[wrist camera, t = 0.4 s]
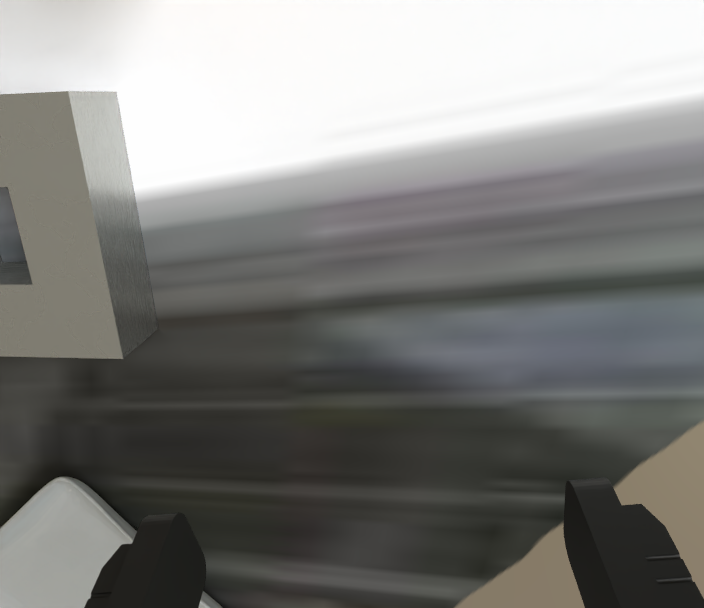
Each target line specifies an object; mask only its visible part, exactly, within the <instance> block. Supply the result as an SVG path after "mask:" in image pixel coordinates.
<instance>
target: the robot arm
mask: <svg viewBox="0 0 704 608" xmlns="http://www.w3.org/2000/svg"><path fill="white" fill-rule="evenodd" d="M564 538H565V545H566V549H567V554H568V558H569V561H570V564H571V567H572V570H573V573H574V576H575V579H576V582H577V585H578V588H579V591H580V594H581V596H582V600H583V603H584V606H585V608H704V599H703V597H702V595H701V593H700V591H699V590H698V588H697V586H696V584H695V582H693V581H692V578H691V574H690V573H689V571H688V569H687V567H686V565H685V563H684V561H683V559H681V558H680V555H679V552H678V550H677V548H676V546H675V544H674V542H673V541H672V539H671V537H670V535H669V533H668V531H667V529H666V527H665V526H664V525H663V524H662V523H661V522H660V521H659V520H658V519H657V518H656V517H655V516H653V515H652V514H651V513H650V512H649V511H648V510H647V509H646V508H645V507H644V506H643V505H642V504H635V505H623V506H621V503H620V501H619V499H618V497H617V495H616V493H615V491H614V489H613V487H612V485H611V483H610V481H609V480H608V479H607V478H594V479H583V480H571V481H567V482H566V490H565V510H564ZM205 579H206V562H205V557H204V554H203V552H202V550H201V548H200V546H199V544H198V541H197V539H196V537H195V535H194V533H193V531H192V529H191V527H190V525H189V523H188V521H187V518H186V517H185V515H184V514H182V513H172V514H161V515H149V516H146V517H145V518H144V519H143V520H142V522H141V524H140V526H139V528H138V530H137V533H136V535H135V538H134V540H133V542H132V544H122V545H121V546H120V547H119V548H118V549H117V551H116V552H115V553H114V554H113V555H112V557H111V558H110V559H109V560H108V561H107V563H106V564H105V565H104V566H103V567H102V569H101V572H100V574H99V576H98V578H97V580H96V583H95V585H94V587H93V589H92V592H91V598H90V599H88V600H87V603H86V605H85V607H84V608H199V604H200V600H201V596H202V593H203V589H204V585H205Z"/></svg>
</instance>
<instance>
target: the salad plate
mask: <svg viewBox="0 0 704 608" xmlns="http://www.w3.org/2000/svg"><path fill="white" fill-rule="evenodd" d="M136 533H137V531H136V530H135V529H134V528H133V527H132V526H131V525H129V524H128V523H127V522H126V521H125V520H124V519H123V518H122V517H121V516H120V515H119V514H118V513H117V512H115V511H114V510H113V509H112V508H111V507H110V506H109V505H108V504H107V503H106V502H105V501H104V500H103V499H102V498H101V497H100V496H99V495H98V494H97V493H96V492H94V491H93V490H92V489H91V488H90V487H89V486H87V485H86V484H84V483H83V482H81V481H80V480H78V479H75V478H72V477H66V476H62V477H57V478H55V479H53V480H52V481H50V482H49V483H47V484H46V485H45V486H44V487H43V488H42V489H40V490H39V491H38V492H37V493H36V494H35V495H34V496H33V497H32V498H31V499H30V500H29V501H28V502H27V503H26V504H24V505H23V507H22V508H21V509H20V510H19V511H17V512H16V513H15V514H14V515H13V516H12V517H11V518H10V519H9V520H8V521H7V522H6V523H5V524H4V525H3V526H2V527H1V528H0V608H84V607H85V605H86V603H87V600H88V599H90V598H91V592H92V589H93V587H94V585H95V583H96V580H97V578H98V576H99V574H100V572H101V569H102V567H103V566H104V565H105V564H106V563H107V561H108V560H109V559H110V558H111V557H112V555H113V554H114V553H115V552H116V551H117V549H118V548H119V547H120V546H121V545H122V544H132V542H133V540H134V538H135V535H136ZM199 608H223V607H222V606H221V605H220V604H218V603H217V602H216V601H215V600H214V599H212V598H211V597H210V596H209V595H208V594H206V593H205V592H204V591H203V593H202V596H201V600H200V604H199Z"/></svg>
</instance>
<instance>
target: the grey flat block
mask: <svg viewBox="0 0 704 608" xmlns="http://www.w3.org/2000/svg"><path fill="white" fill-rule="evenodd" d="M0 187H8V190H9V194H10V198H11V202H12V206H13V210H14V213H15V217H16V221H17V225H18V229H19V233H20V237H21V241H22V245H23V249H24V253H25V256H26V260H27V262H2V259H1V256H0V356H7V357H55V358H103V359H124V358H125V357H126V356H127V355H128V354H129V353H130V352H132V351H133V350H134V349H135V348H136V347H137V346H139V345H140V344H141V343H142V342H143V341H144V340H145V339H147V338H148V337H149V336H150V335H151V334H152V333H153V332H155V331H156V330H157V329H158V324H157V318H156V312H155V307H154V301H153V295H152V290H151V284H150V278H149V273H148V267H147V262H146V256H145V250H144V245H143V239H142V233H141V228H140V222H139V216H138V211H137V205H136V199H135V194H134V188H133V182H132V177H131V171H130V165H129V160H128V154H127V148H126V143H125V137H124V132H123V126H122V120H121V115H120V109H119V103H118V98H117V92H80V91H66V92H45V93H24V94H3V95H0Z"/></svg>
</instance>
